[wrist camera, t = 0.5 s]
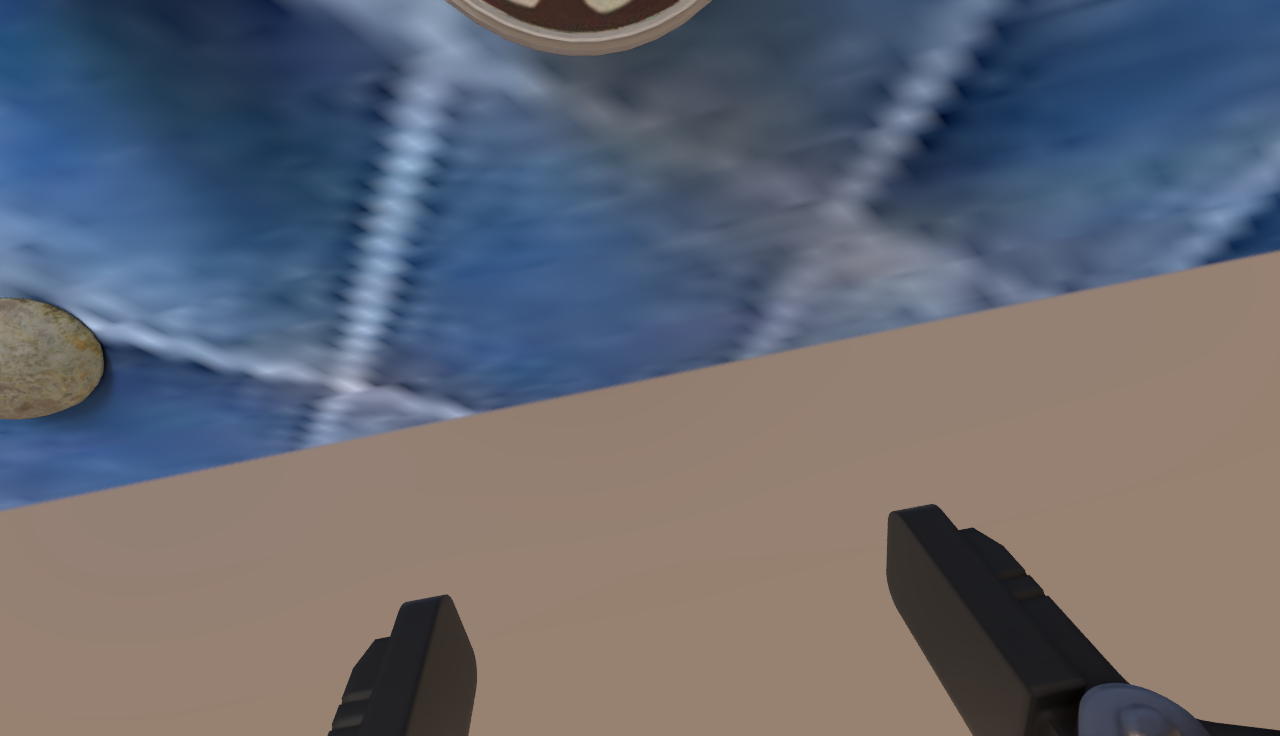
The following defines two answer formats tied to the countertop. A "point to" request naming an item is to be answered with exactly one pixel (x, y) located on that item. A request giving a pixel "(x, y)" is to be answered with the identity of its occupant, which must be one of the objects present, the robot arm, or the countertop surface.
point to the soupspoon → (44, 359)
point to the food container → (580, 22)
